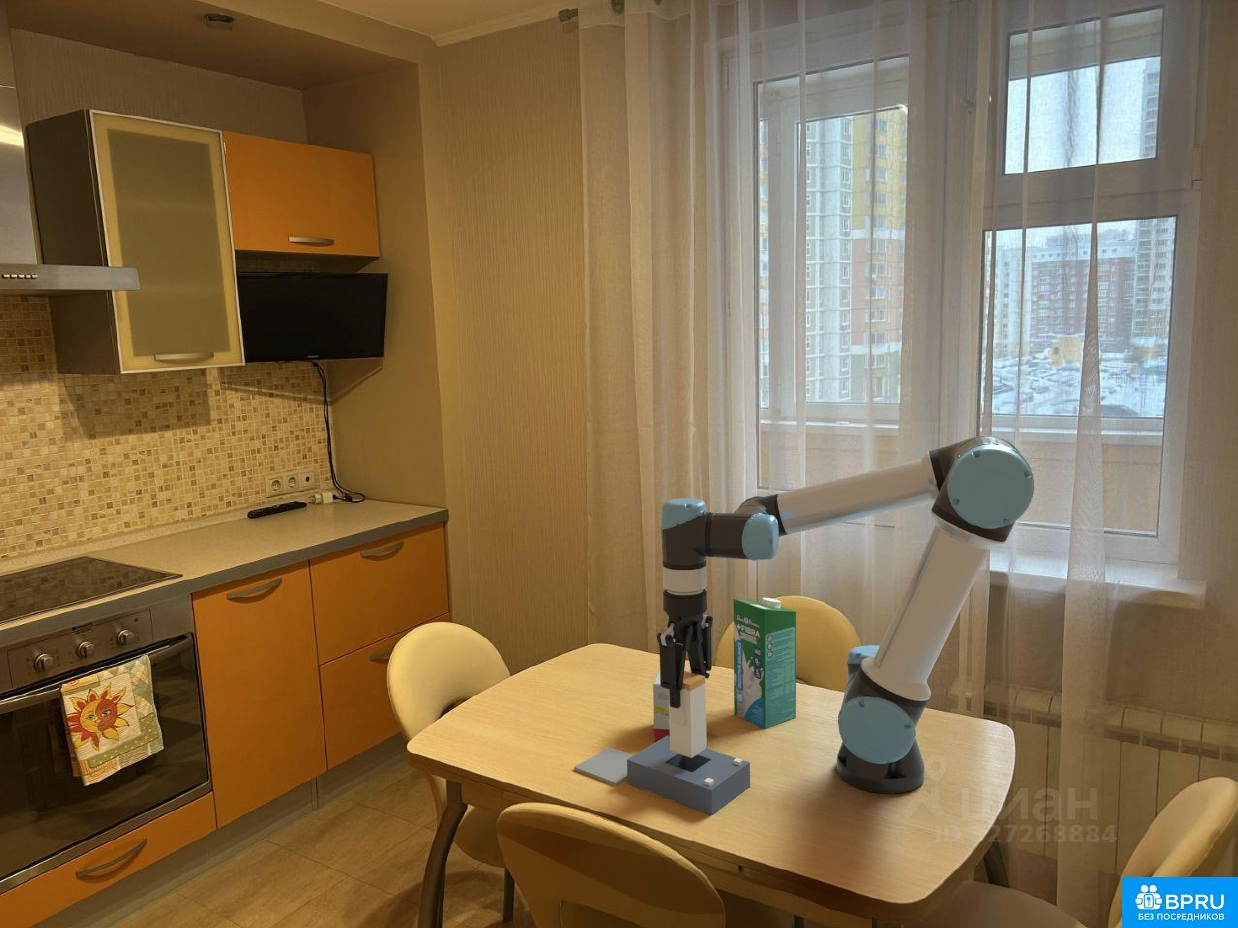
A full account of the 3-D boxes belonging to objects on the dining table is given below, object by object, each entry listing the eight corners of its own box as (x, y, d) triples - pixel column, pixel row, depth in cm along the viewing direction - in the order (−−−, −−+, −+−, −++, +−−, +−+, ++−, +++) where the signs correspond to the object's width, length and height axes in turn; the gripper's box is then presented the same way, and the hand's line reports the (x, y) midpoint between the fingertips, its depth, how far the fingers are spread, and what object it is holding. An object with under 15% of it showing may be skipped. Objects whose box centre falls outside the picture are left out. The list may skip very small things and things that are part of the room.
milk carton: (796, 717, 188) (796, 600, 184) (763, 729, 183) (763, 608, 179) (765, 703, 195) (765, 590, 192) (733, 714, 190) (732, 598, 187)
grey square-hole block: (750, 786, 160) (749, 759, 160) (711, 815, 151) (711, 786, 150) (667, 757, 172) (667, 732, 171) (627, 783, 163) (626, 756, 162)
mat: (650, 764, 169) (650, 761, 169) (616, 785, 162) (615, 782, 162) (609, 749, 176) (609, 746, 176) (574, 769, 168) (574, 766, 168)
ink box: (696, 743, 177) (695, 685, 176) (652, 740, 179) (651, 683, 177) (701, 724, 186) (700, 669, 184) (659, 722, 188) (658, 667, 186)
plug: (706, 747, 161) (705, 676, 159) (691, 757, 157) (689, 684, 155) (685, 741, 164) (683, 670, 162) (670, 750, 160) (668, 678, 158)
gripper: (696, 574, 165) (698, 696, 169) (635, 598, 152) (639, 730, 155) (731, 580, 161) (733, 706, 164) (671, 605, 147) (675, 742, 151)
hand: (687, 717), depth 160 cm, fingers closed on plug, 5 cm apart
